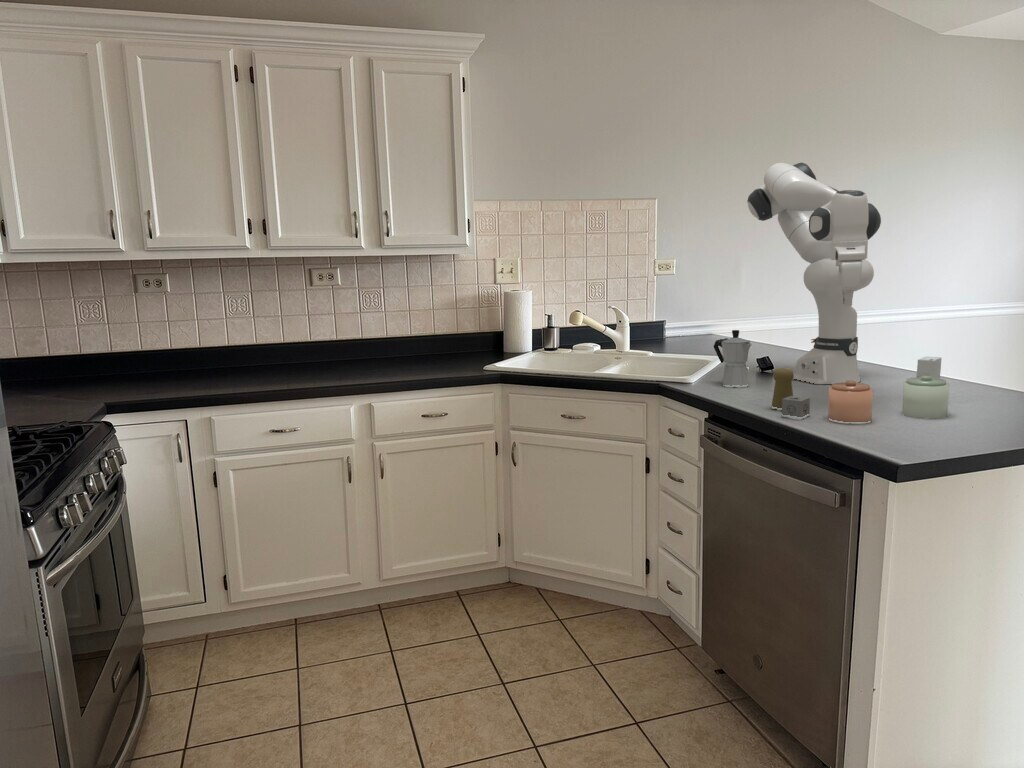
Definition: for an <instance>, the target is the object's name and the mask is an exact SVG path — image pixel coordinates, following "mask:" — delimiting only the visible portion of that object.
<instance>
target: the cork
mask: <svg viewBox="0 0 1024 768" xmlns="http://www.w3.org/2000/svg"><path fill="white" fill-rule="evenodd" d="M793 373H794V371H793V370H792V369H790V368H776V369H775V370H774V371H773V374H772V375H773V376H772V377H773V380H774V381H775V382H774V387H773V395H772V400H771V401H772V402H771V407H772V406H773V407H777V408H782V399H784V398H786V397H789V396H794V394H793V393H794V392H793V385H792V381H793V380H794V379H793V377H794V374H793Z"/></svg>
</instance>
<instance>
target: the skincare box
mask: <svg viewBox="0 0 1024 768" xmlns="http://www.w3.org/2000/svg"><path fill="white" fill-rule="evenodd" d="M916 365H917V367H916V377H915V378H917V377H921V376H932V378H938V379H941V370H942V357H941V356H924V357H921V358H918V359H917V364H916Z"/></svg>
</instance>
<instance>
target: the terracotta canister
mask: <svg viewBox="0 0 1024 768" xmlns="http://www.w3.org/2000/svg"><path fill="white" fill-rule="evenodd" d="M827 397H828V402H827V403H828V404H827V407H828V408H827V419H828V418H830V419H832V420H837V421H843V422H868V421H871V420H872V421H873V403H874V402H873V401H874V399H873V397H874V388H873V387H872V386H871V385H870V384H868V383H865V382H864V383H862V382H857V383H856V381H846V382H842V383H834V384H831V385H830V386H829V387H828V396H827Z"/></svg>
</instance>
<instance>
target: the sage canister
mask: <svg viewBox="0 0 1024 768" xmlns="http://www.w3.org/2000/svg"><path fill="white" fill-rule="evenodd" d="M916 377H917V376H916ZM916 377H910V378H907V379H906V381H903V384H902V385H903V386H902V403H901V404H902V407H901V408H902V409H901V414H902V415H903V414H904V415H903V416H905V415H906V416H905V417H908V416H910V417H909V418H913V417H915V418H914V419H921V418H929V419H928V420H938V419H937V418H940V419H945V418H947V417H948V413H949V398H950V397H949V395H950V383H948V382H947V380H946V379H944V378H943V379H942V378H940V379H938V378H932V376H921V377H917V378H916Z"/></svg>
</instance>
